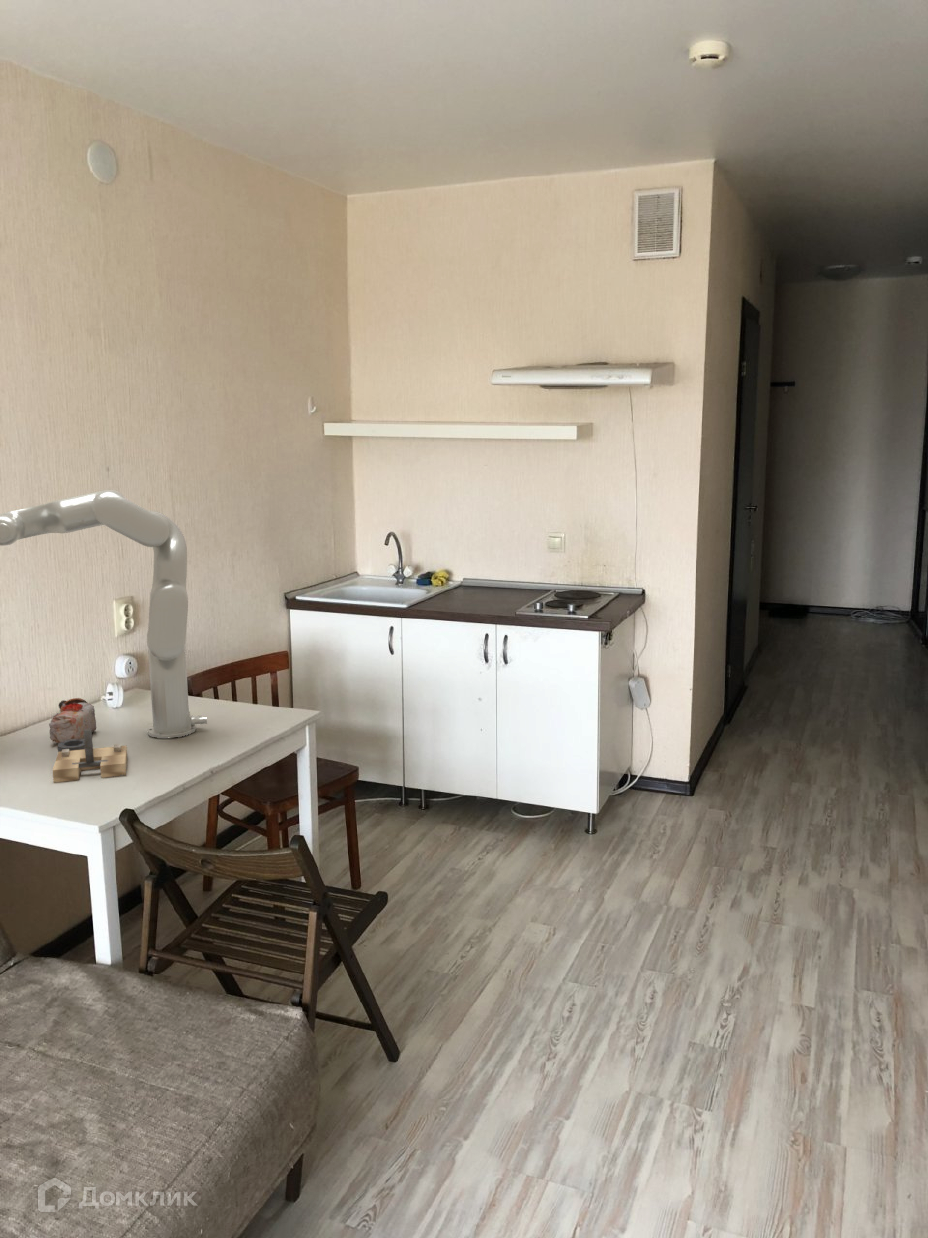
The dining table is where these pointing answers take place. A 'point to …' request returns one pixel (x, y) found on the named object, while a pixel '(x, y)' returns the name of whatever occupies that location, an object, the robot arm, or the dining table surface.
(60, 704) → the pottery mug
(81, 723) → the food item
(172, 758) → the dining table surface
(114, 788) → the dining table surface
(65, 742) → the faceted grey ring
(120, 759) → the toggle switch panel
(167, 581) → the robot arm
